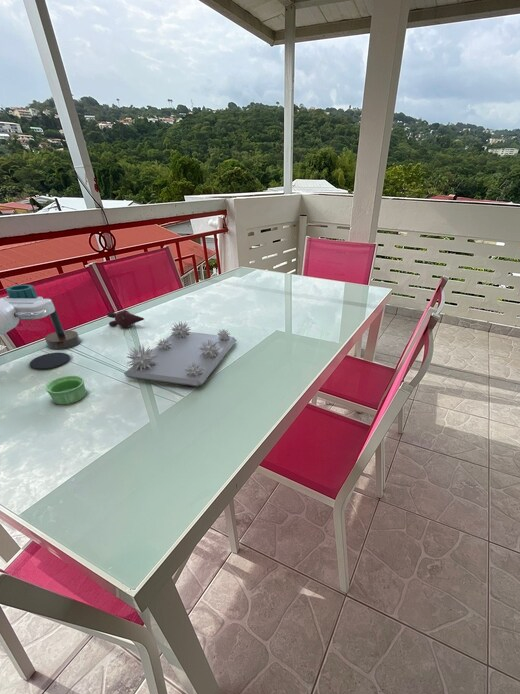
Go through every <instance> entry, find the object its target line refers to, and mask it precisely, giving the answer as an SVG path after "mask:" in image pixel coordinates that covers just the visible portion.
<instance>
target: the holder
mask: <svg viewBox="0 0 520 694" xmlns="http://www.w3.org/2000/svg"><path fill="white" fill-rule="evenodd" d="M49 299H50V300H51V301H52V302H53V305H54V308H55V311H54V312H53V313H51V314H50V315H48V316H49V318H50V321H51V324H52V327H53V328H54V332H51V333H48V334H47V335H46V336H45V337H44V340H45V343H46V345H47V347H48V348H49V349H52V350H57V351H58V350H59V351H60V350H67V349H71V348H73V347H76V346H78V345H79V344H80V343H81V337H80V336H79V334H78V332H77V331H76V330H70V329H69V330H67V329H66V330H64V328H63V325H62V322H61V320H60V319H61V318H60V317H59V314H58V311H57V308H56V306H55V304H54V300H53V299H52V298H49Z"/></svg>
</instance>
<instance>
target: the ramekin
mask: <svg viewBox="0 0 520 694" xmlns="http://www.w3.org/2000/svg"><path fill="white" fill-rule="evenodd" d="M45 391H46V392H47V393H48V395H49V397H50V398H51V400H52V401H53V402H54V403H55V404H57V405H69V404H70V405H71V404H74V403H77V402H79V401H81V400H82V399H83V398H85V396H87V390H86V386H85V380H84V378H83V377H81V376H79V375H63V376H60V377H56V378H54V379H53V380H50V381H49V382H48V383H47V384H46V385H45Z"/></svg>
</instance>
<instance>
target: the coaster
mask: <svg viewBox="0 0 520 694" xmlns="http://www.w3.org/2000/svg"><path fill="white" fill-rule="evenodd" d="M70 361H71V356H70V355H69V354H68V353H66V352H51V353H50V352H49V353H45V354H42V355H39V356H37V357H35V358H33V359H31V360H30V362H29V366H30V368H32V369H33V370H37V371H48V370H53V369H57V368H60V367H63V366H64V365H66V364H68V363H69V362H70Z"/></svg>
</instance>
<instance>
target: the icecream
mask: <svg viewBox="0 0 520 694" xmlns="http://www.w3.org/2000/svg"><path fill="white" fill-rule="evenodd" d="M106 316H107V317H108V318H111V319H114V320H111V321H109V322H108V326H110V327H117V326H119V327H122V328H130V327H131V326H132V325H135V324H137V323H139V322H141V321H144V320H145V318H144V317H141V316H138V315H136V314H133V313H130V311H128V310H126V309H125V310H122V311H117V313H116V312H114V311H107V312H106Z"/></svg>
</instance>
